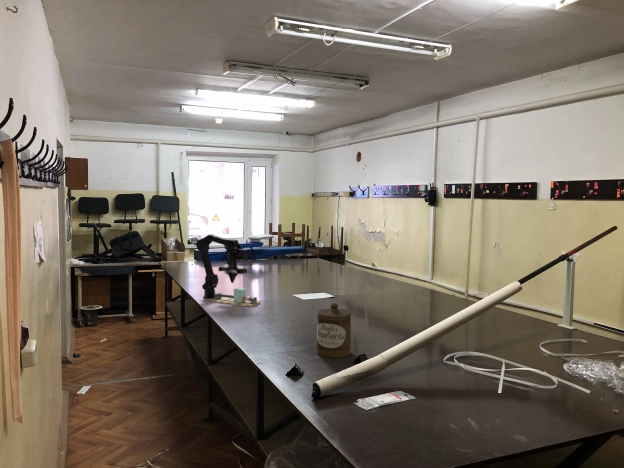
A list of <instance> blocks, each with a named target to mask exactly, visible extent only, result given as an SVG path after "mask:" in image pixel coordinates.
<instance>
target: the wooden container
mask: <svg viewBox="0 0 624 468" xmlns="http://www.w3.org/2000/svg"><path fill="white" fill-rule="evenodd" d="M338 307H339V304H338V303H337V302H336V303H335V302H332V303H331V304H330V307H329V308H324V309H323V308H322V309H319V310H318V311H317V327H316V328H317V330H316V353H317V354H318V355H319V356H322V357H325V358H330V359H331V358H332V359H333V358H335V359H337V358H338V359H339V358H343V357H348V356H349V355H350V354H351V340H352V339H351V338H352V334H351V333H352V331H351V327H352V325H351V322H352V321H351V319H352V318H351V317H352V315H351V311H349V310H347V309H345V308H338Z"/></svg>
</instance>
